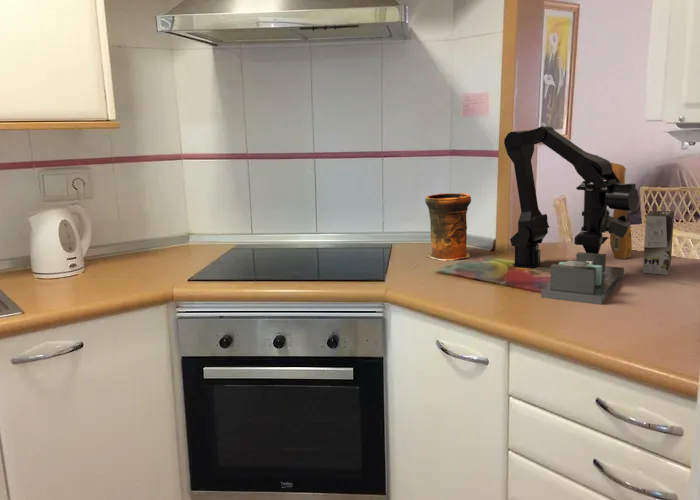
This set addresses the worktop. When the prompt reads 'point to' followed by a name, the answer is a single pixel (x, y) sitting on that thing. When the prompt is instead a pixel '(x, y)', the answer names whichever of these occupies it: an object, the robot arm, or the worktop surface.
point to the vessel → (448, 225)
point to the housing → (577, 263)
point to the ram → (593, 263)
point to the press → (581, 283)
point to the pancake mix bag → (618, 244)
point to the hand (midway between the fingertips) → (593, 264)
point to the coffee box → (658, 242)
